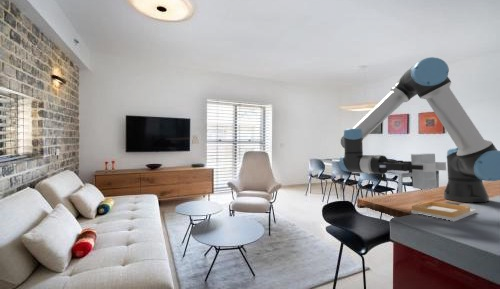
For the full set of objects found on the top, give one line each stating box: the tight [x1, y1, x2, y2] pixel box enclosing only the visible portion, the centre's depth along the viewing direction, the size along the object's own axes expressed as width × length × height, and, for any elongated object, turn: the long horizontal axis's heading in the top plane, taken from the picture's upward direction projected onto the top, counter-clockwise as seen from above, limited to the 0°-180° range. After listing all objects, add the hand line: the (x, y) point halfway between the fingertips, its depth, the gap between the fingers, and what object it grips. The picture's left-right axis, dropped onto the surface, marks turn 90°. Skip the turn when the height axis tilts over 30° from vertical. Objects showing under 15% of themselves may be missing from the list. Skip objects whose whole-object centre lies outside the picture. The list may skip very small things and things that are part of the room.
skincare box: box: [410, 153, 438, 190], centre depth 86 cm, size 6×4×12 cm
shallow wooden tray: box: [411, 200, 477, 223], centre depth 90 cm, size 18×13×3 cm
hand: (440, 167), depth 82 cm, fingers closed on skincare box, 7 cm apart
